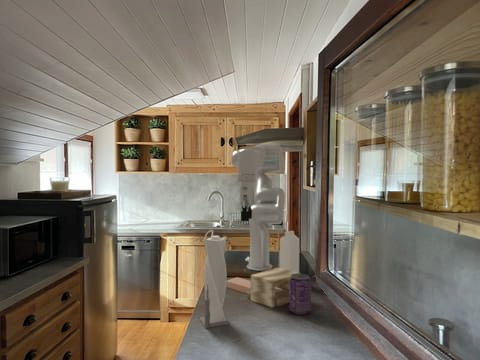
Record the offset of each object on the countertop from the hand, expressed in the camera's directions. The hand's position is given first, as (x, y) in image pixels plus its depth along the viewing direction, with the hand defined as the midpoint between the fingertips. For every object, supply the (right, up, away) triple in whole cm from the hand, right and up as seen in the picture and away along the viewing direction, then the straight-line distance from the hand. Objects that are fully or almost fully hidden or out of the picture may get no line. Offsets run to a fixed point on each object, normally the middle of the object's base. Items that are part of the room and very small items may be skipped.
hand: (246, 219), depth 143 cm
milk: (+19, -28, +4) cm, 33 cm away
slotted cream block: (+10, -27, -16) cm, 33 cm away
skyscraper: (-11, -28, -36) cm, 46 cm away
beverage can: (+17, -28, -28) cm, 43 cm away
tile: (0, -28, -5) cm, 28 cm away
